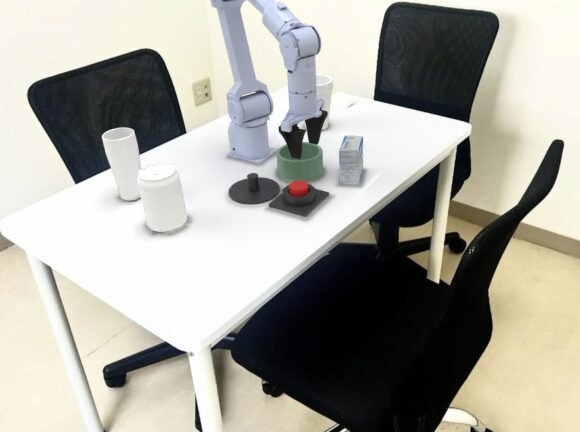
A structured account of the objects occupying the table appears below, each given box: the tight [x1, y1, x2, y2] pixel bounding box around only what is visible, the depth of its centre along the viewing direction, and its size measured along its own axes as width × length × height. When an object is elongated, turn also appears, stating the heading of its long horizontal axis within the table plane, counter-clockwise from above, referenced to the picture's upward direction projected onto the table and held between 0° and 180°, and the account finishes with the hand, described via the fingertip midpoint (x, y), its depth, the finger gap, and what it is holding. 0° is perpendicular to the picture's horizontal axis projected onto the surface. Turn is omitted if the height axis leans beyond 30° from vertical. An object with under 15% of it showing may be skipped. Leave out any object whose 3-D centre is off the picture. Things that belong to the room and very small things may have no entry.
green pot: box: [275, 141, 324, 182], centre depth 129 cm, size 10×10×5 cm
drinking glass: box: [101, 127, 142, 202], centre depth 120 cm, size 7×7×15 cm
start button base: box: [268, 183, 330, 218], centre depth 117 cm, size 9×10×3 cm
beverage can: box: [137, 162, 188, 233], centre depth 111 cm, size 8×8×12 cm
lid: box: [228, 172, 281, 205], centre depth 121 cm, size 11×11×4 cm
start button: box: [288, 181, 309, 196], centre depth 116 cm, size 4×4×2 cm
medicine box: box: [338, 135, 364, 185], centre depth 124 cm, size 8×4×9 cm, turn 168°
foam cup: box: [303, 73, 334, 131], centre depth 149 cm, size 10×9×13 cm
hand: (305, 150), depth 120 cm, fingers open, 7 cm apart
